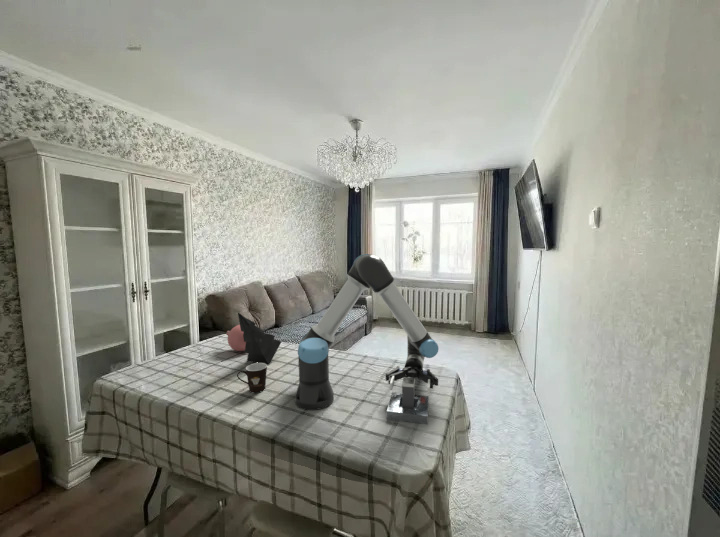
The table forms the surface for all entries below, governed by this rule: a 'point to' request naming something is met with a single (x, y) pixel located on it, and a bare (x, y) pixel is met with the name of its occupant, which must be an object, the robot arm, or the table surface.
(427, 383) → the robot arm
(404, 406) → the plug
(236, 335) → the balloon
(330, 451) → the table surface
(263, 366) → the coffee mug
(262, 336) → the dark angular faceted shape
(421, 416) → the socket block
